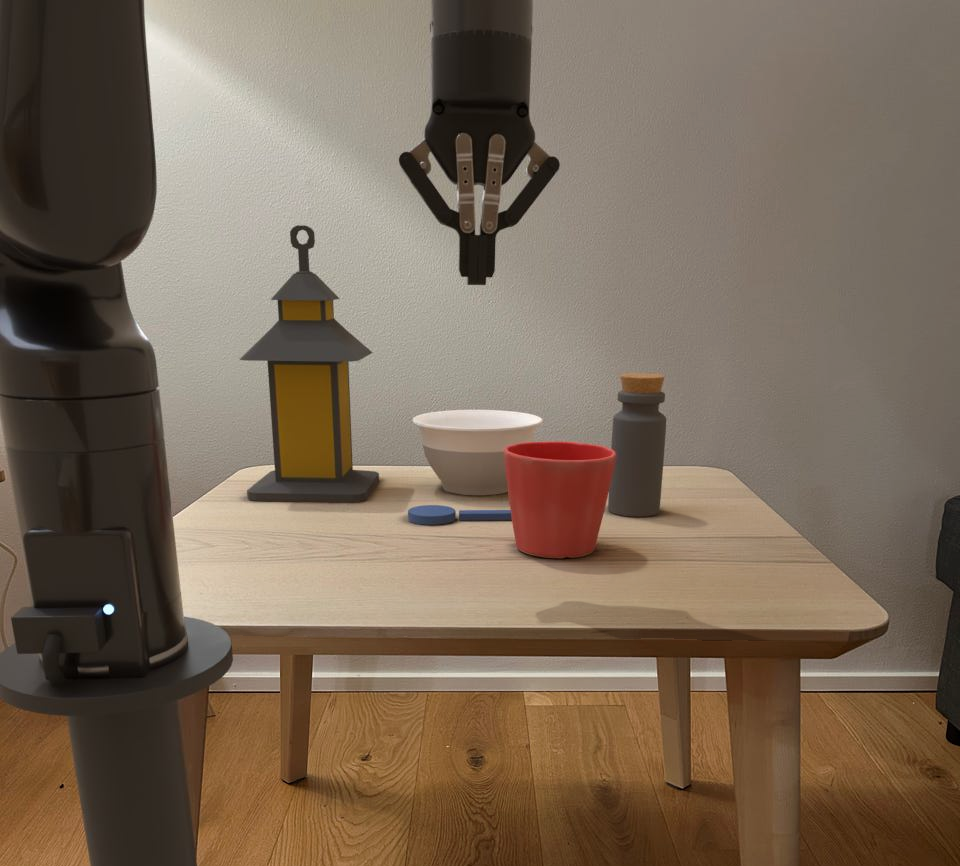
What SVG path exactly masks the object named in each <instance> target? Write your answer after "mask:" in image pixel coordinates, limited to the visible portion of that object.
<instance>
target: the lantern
mask: <svg viewBox="0 0 960 866" xmlns="http://www.w3.org/2000/svg"><path fill="white" fill-rule="evenodd" d="M301 231H304V232H306V235H307V236H308V238H307V240H306V242H305V243H300V242H299V240H298V235H299V232H301ZM289 235H290V237H289V239H290V244H291V247H292V248H294V249H297V255H298V271H295V273H293V274H292V275H291V276H290V277H289V278H288V279H287V280H286V281H285V283H284V284H283V285H282V286H281V287H280V288H279V289H278V291H277V292H276V293H275V294H274V295H273V296H272V297H271V298H270V301H277V313H278V320H277V322H275V324H273V326H272V327H271V328H270V329H269V330H268V331H267V332H266V333H265V334H263V336H262V337H260V339H258V340H257V341H256V342H255V343H254V344H253V345H252V347H250V348H249V349H248V350H247V351H246V352H245V353H244V354H243V355H242V356H241V357H240V358H239V361H248V362H249V361H251V362H252V361H254V362H256V361H257V362H258V361H259V362H261V361H263V362H267V375H268V388H269V390H268V391H269V404H270V405H269V406H270V419H271V434H272V449H273V461H274V470H270V471H269V472H268V473H267V474H265V475H264V476H263V477H262V478H261V479H259V480H257V482H255V483H254V484H253V485H252V486H251V487H249V488H248V489H247V490H246V496H247V497H246V498H247V499H248V500H249V501H253V502H297V503H298V502H301V503H303V502H304V503H305V502H306V503H361V502H365V501H366V500H367V499H368V497H369V496H370V494H371V493H372V491H373V490H374V489H375V487H376V486H377V484H378V483H379V481H380V472H378V471H375V470H363V469H362V470H361V469H354V465H353V463H354V462H353V442H352V441H353V440H352V417H351V416H352V415H351V390H350V389H351V388H350V365H349V362H359V361H361V360H362V359H364V358H367V357H368V356H371V354H373V351H372V350H370V349H369V348H368V347H367V346H366V345H365V344H364V343H362V342H361V341H360V340H359V339H357V338H356V336H354V335H353V334H352V333H351V332H349V331H348V330H347V329H346V328H345V327H344V326H343V325H342V324H341V323H340V322H339V321H338V320H336V318H335V309H334V301H336V300H340V297H339V296H338V295H337V294H336V293H335V292H334V290H332V289H331V288H330V287H329V286H328V285H327V284H326V283H325V282H324V281H323V280H322V278H320V277H319V276H318V275H317V274H316V273H314V272H313V271H310V259H309V258H310V256H309V250H311V249H313V248H315V245H316V238H315V235H316V234H315V231H314V229H313V228H312V227H310V226H308V225H299V224H298V225H295V226H292V228H291V229H290V231H289Z"/></svg>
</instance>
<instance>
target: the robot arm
mask: <svg viewBox="0 0 960 866" xmlns="http://www.w3.org/2000/svg"><path fill="white" fill-rule="evenodd" d="M533 8H534V0H430V23H429V30H430V31H429V32H430V115H429V118H428V120H427V123H426V125H425V127H424V130H423V139H422V140H421V141H419V143H417V144H416V145H415V146H414V147H412V148H411V149H410V150H409V151H403V152H402V153H401V154H400V155H399V157H398V164H399V167H400V169H401V171H402V172H403V174H404V175H405V177H406V178H407V179H408V180H409V182H410V184H411V186H412V187H413V188H414V189H415V191H416V192H417V193H418V195H419V197H420V198H421V199H422V200H423V202H424V204H425V205H426V206H427V208H428V209H429V211H430V212H431V213H432V215H433V216H434V217H435V219H436V220H437V222H438V223H439V224H440V225H441V226H445V227H447V228H450V229H452V230H454V231H455V232H456V233H457V235H458V239H459V240H458V272H459V275H460V277H461V278H466V285H467V286H486V285H487V278H493V277H494V274H495V272H496V240H497V239H496V238H497V235H498V233H500V232H501V231H503V230H505V229H508V228H512V227H515V226H516V225H518V223H520V221H521V220H522V219H523V217H524V216H525V214H526V213H527V212H528V211H529V209H530V208H531V207H532V205H533V204H534V202H535V201H536V200H537V199H538V198H539V196H540V195H541V193H542V192H543V191H544V189H545V188H546V187H547V185H548V184H549V183H550V181H551V180H552V179H553V178H554V177H555V175H556V174H557V173H558V171H559V169H560V164H561V163H560V160H559V159H558V158H557V157H556V156H553V155H552V156H551V155H549V154H548V153H547V152H546V151H545V150H544V148H542V147H541V146H540V145H539V144H538V143H537V142H535V141H536V131H535V129H534V126H533V125H532V122H531V117H530V105H531V104H530V102H531V101H530V100H531V99H530V98H531V75H532V73H531V71H532V70H531V69H532V47H533V46H532V45H533V44H532V43H533V41H532V40H533V39H532V38H533V17H534V16H533V15H534V13H533V11H534V9H533ZM145 15H146V14H145V0H0V425H1V431H2V436H3V441H4V443H3V444H4V450H5V455H6V461H7V468H8V474H9V480H10V485H11V492H12V497H13V504H14V509H15V516H16V521H17V529H18V533H19V540H20V545H21V550H22V551H21V552H22V557H23V564H24V569H25V574H26V580H27V588H28V594H29V598H30V599H29V600H30V603H31V604H30V605H31V606H22V607H21V608H19V610H17V611H16V612H15V613H14V614H13V615H12V616H11V617H10V620H11V626H12V632H13V638H14V643H15V644H16V650H17V654H38V656H39V662H40V665H41V666H42V667H43V669H44V673H45V679H48V680H49V681H50V683H51V684H52V685H53V686H56V687H58V686H61V685H63V684H64V683H65V679H106V678H143V677H146V676H147V674H148V673H149V672H150V671H151V670H153V669H156V668H158V667H161V666H164V665H166V664H168V663H170V662H172V661H174V660H176V659H177V658H179V657H180V656H181V655H183V654H184V653H185V651H186V650H187V648H188V637H187V630H186V628H185V624H184V617H185V616H184V606H183V597H182V589H181V580H180V570H179V562H178V561H179V560H178V552H177V543H176V534H175V525H174V515H173V507H172V506H173V505H172V497H171V488H170V478H169V469H168V461H167V460H168V459H167V451H166V442H165V431H164V420H163V414H162V412H163V411H162V403H161V393H160V389H159V386H160V384H159V383H160V382H159V373H158V367H157V358H156V352H155V349H154V347H153V345H152V343H151V341H150V339H149V338H148V337H147V336H146V335H145V333H144V332H143V330H142V329H141V328H140V326H139V325H138V323H137V321H136V319H135V317H134V315H133V314H134V313H133V311H132V308H131V306H130V302H129V300H128V299H129V298H128V295H127V294H128V293H127V287H126V283H125V275H124V269H123V268H124V267H123V261H124V260H125V259H127V258H128V257H129V256H131V255H132V254H133V253H134V252H135V251H136V250H137V249H138V248H139V247H140V245H141V244H142V242H143V241H144V239H145V238H146V237H147V234H148V231H149V229H150V226H151V224H152V222H153V219H154V213H155V210H156V204H157V198H158V197H157V196H158V169H157V167H158V165H157V154H156V140H155V129H154V119H153V109H152V108H153V107H152V98H151V97H152V96H151V85H150V83H151V82H150V71H149V60H148V47H147V33H146V20H145V19H146V18H145V17H146V16H145ZM430 153H431V154H432V156H433V158H434V159H435V160H436V162H437V164H438V165H439V168H441V170H442V172H443V173H444V175H445V176H446V178H447V179H448V181H450V183H451V184H453V185H455V186H456V199H457V211H456V210H454V209H452V208H451V207H450V206H449V205H448V203H447V202H446V201H445V199H444V197H443V196H442V194H440V192H439V191H438V189H437V188H436V186H435V184H434V183H433V182H432V180H431V179H430V178H429V176H428V175H429V174H430V173H431V170H432V164H431V161H430V158H429V156H430ZM526 156H527V157H528V164H527V166H526V168H525V173H526V176H527V177H528V178H529V180H528V182H526V184H525V185H524V187H523V188H522V189H521V191H520V192H519V194H518V195H517V196H516V197H515V198H514V200H513V201H512V203H511V204H510V205H509V207H508V208H507V209H506V210H503V211H500V212H499V210H500V209H499V208H500V201H501V191H502V186H504V185H505V184H507V183H508V182H509V181H510V179H512V177H513V175H514V174H515V172H516V171H517V169H519V167H520V166H521V164H522V162H523V161H524V160H525V158H526ZM475 186H481V187H482V198H481V211H480V213H481V214H480V223H479V234H476V208H475V207H476V206H475Z"/></svg>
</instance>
